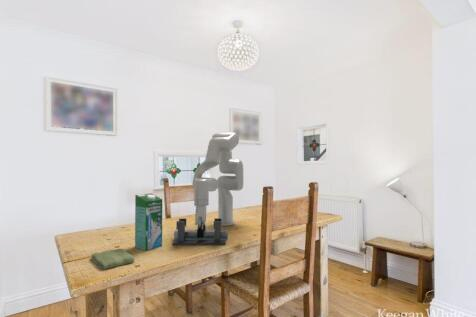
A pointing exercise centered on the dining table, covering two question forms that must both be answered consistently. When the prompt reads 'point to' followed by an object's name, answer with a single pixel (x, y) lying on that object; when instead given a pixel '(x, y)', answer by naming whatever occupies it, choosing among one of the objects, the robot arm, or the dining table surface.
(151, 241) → the milk carton
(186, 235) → the rail
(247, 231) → the dining table surface
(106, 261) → the washcloth
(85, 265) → the dining table surface
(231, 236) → the dining table surface
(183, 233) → the rack
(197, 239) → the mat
